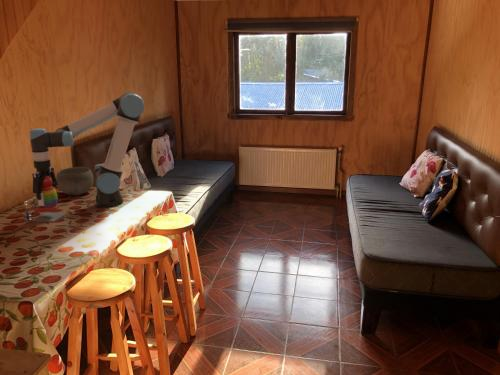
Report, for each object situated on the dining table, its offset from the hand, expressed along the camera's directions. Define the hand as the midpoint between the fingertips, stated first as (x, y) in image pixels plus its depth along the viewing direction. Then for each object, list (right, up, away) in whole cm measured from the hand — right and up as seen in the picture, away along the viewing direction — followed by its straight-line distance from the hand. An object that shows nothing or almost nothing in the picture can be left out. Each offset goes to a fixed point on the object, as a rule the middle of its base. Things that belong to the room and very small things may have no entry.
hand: (47, 202), depth 218 cm
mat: (0, -8, +2) cm, 8 cm away
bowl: (-3, +4, +45) cm, 45 cm away
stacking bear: (0, -4, +1) cm, 4 cm away
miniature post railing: (-10, -7, +5) cm, 14 cm away
